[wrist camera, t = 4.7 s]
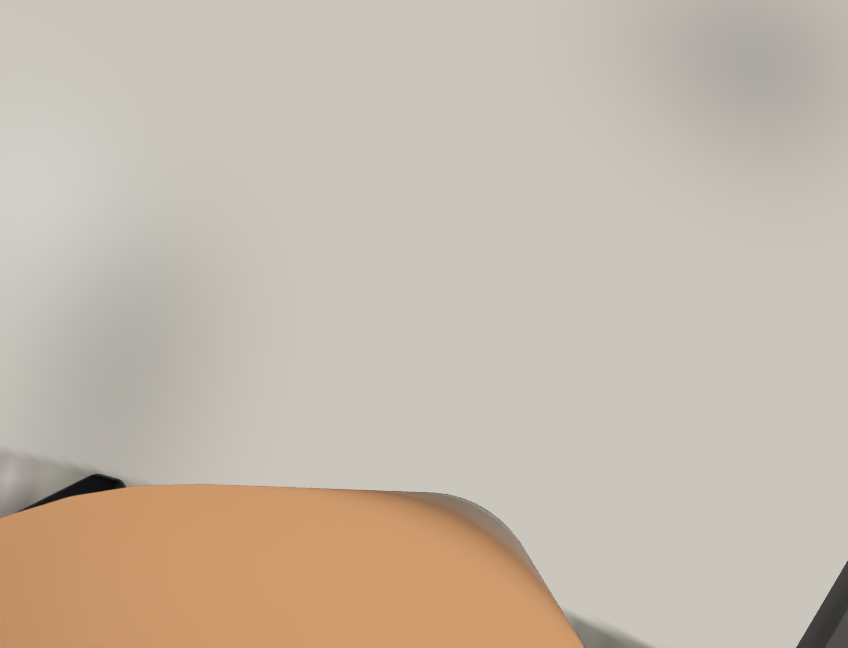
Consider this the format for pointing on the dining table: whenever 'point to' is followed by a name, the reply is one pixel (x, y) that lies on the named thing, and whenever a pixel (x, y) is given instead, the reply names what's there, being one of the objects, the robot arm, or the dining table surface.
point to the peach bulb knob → (270, 572)
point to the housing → (830, 618)
